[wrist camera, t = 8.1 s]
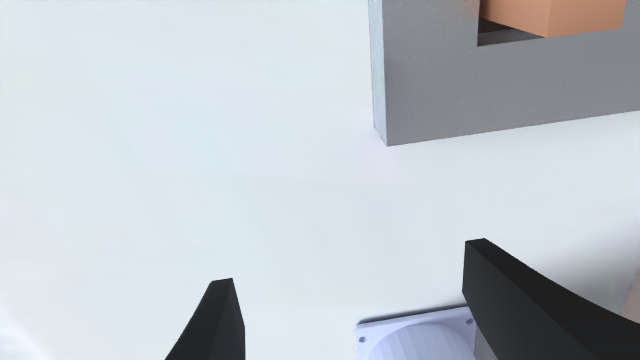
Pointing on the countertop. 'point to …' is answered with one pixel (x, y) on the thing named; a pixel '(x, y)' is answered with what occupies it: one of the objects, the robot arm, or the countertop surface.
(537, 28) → the pin
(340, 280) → the countertop surface
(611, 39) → the grey square base
